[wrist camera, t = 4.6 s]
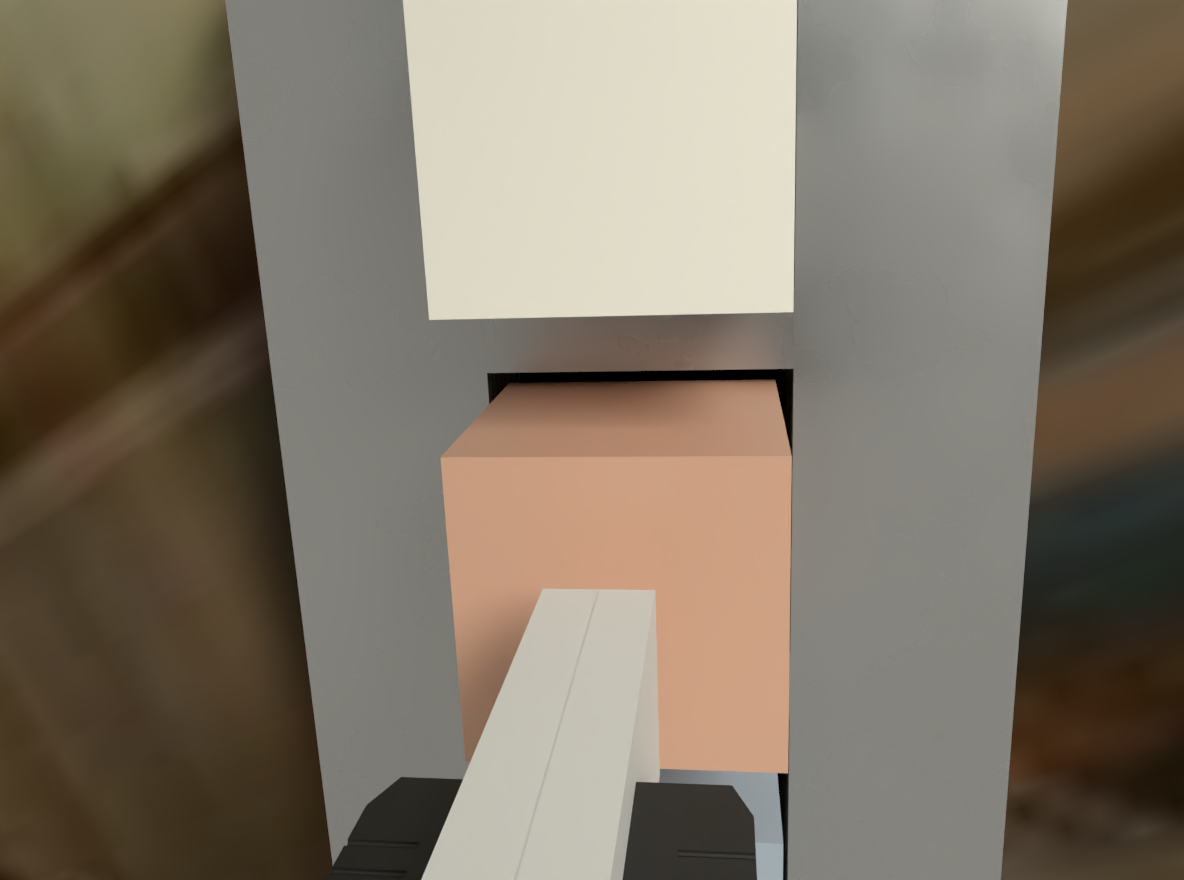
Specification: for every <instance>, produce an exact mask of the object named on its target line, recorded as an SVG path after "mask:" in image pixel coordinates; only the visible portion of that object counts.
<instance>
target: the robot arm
mask: <svg viewBox="0 0 1184 880" xmlns="http://www.w3.org/2000/svg"><path fill="white" fill-rule="evenodd" d="M659 777H660V757H659V717H658V677H657V637H656V597H655V590H627V589H542V592H541V594H540V597H539V599H538V601H537V604H536V606H535V609H534V611H533V613H532V616H531V618H530V621H529V623H528V625H527V628H526V630H525V632H524V635H523V637H522V640H521V642H520V644H519V647H518V649H517V652H516V654H515V656H514V659H513V661H512V664H511V666H510V668H509V671H508V673H507V676H506V678H505V680H504V683H503V685H502V688H501V690H500V692H499V695H498V697H497V699H496V702H495V704H494V707H493V709H492V711H491V714H490V716H489V719H488V721H487V723H486V726H485V728H484V731H483V733H482V735H481V738H480V740H479V743H478V745H477V747H476V750H475V752H474V755H473V757H472V759H471V762H470V764H469V766H468V769H467V771H466V774H465V776H464V778H463V779H443V778H415V777H400V778H399V779H398V780H397V781H395V782H394V783H393V784H392V785H390V786H389V787H388V788H387V789H386V790H384V791H383V792H382V793H381V794H379V795H378V796H377V797H376V798H374V799H373V800H372V801H371V802H370V803H368V804H367V805H366V807H365V808H364V810H363V812H362V814H361V816H360V818H359V819H358V821H357V823H356V825H355V827H354V828H353V830H352V832H351V834H350V836H349V838H348V843H347V846H344V847H343V848H342V850H341V852H340V854H339V856H338V857H337V859H336V861H335V863H334V865H333V867H332V874H331V875H330V874H328V876H327V877H326V879H325V880H757V867H756V846H755V825H754V816H753V814H752V813H751V812H750V810H749V809H748V807H747V806H746V804H745V803H744V802H743V800H742V799H741V797H740V796H739V794H738V793H737V791H736V790H735V789H734V787H733V786H732V785H709V784H681V783H659Z"/></svg>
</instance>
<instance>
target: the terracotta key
mask: <svg viewBox="0 0 1184 880" xmlns="http://www.w3.org/2000/svg"><path fill="white" fill-rule="evenodd" d="M440 458H441V471H442V483H443V495H444V507H445V519H446V532H447V544H448V556H449V568H450V580H451V592H452V605H453V617H454V629H455V641H456V653H457V665H458V678H459V690H460V702H461V714H462V726H463V738H464V751H465V762H471V759H472V757H473V755H474V752H475V750H476V747H477V745H478V743H479V740H480V738H481V735H482V733H483V731H484V728H485V726H486V723H487V721H488V719H489V716H490V714H491V711H492V709H493V707H494V704H495V702H496V699H497V697H498V695H499V692H500V690H501V688H502V685H503V683H504V680H505V678H506V676H507V673H508V671H509V668H510V666H511V664H512V661H513V659H514V656H515V654H516V652H517V649H518V647H519V644H520V642H521V640H522V637H523V635H524V632H525V630H526V628H527V625H528V623H529V621H530V618H531V616H532V613H533V611H534V609H535V606H536V604H537V601H538V599H539V597H540V594H541V592H542V589H627V590H655V597H656V637H657V677H658V717H659V757H660V769H679V770H707V771H736V772H764V773H788V742H789V655H790V569H791V482H792V455H791V450H790V446H789V441H788V436H787V432H786V427H785V422H784V418H783V413H782V409H781V404H780V399H779V395H778V390H777V385H776V381H775V379H772V380H695V381H618V382H541V383H509V384H508V385H507V386H506V387H505V388H504V389H503V390H502V391H501V392H500V393H499V395H498V396H497V397H496V398H495V399H494V400H493V401H492V402H491V403H490V404H489V405H488V406H487V408H486V409H485V410H484V411H483V412H482V413H481V414H480V415H479V416H478V417H477V418H476V419H475V421H474V422H473V423H472V424H471V425H470V426H469V427H468V428H467V429H466V430H465V431H464V432H463V434H462V435H461V436H460V437H459V438H458V439H457V440H456V441H455V442H454V443H453V444H452V445H451V446H450V448H449V449H448V450H447V451H446V452H445V453H444V454H443V455H442V456H441V457H440Z"/></svg>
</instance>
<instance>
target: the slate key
mask: <svg viewBox="0 0 1184 880" xmlns="http://www.w3.org/2000/svg"><path fill="white" fill-rule="evenodd" d="M659 783H681V784H709V785H732V786H733V787H734V789H735V790H736V791H737V793H738V794H739V796H740V797H741V799H742V800H743V802H744V803H745V804H746V806H747V807H748V809H749V810H750V812H751V813H752V814H753V816H754V825H755V846H756V867H757V880H783V834H782V822H781V810H780V798H779V786H778V774H777V773H764V772H736V771H707V770H679V769H660V777H659Z"/></svg>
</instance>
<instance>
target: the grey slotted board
mask: <svg viewBox="0 0 1184 880" xmlns="http://www.w3.org/2000/svg"><path fill="white" fill-rule="evenodd" d="M225 4H226V12H227V20H228V28H229V36H230V44H231V52H232V60H233V68H234V76H235V84H236V92H237V100H238V108H239V116H240V124H241V132H242V140H243V148H244V156H245V164H246V173H247V181H248V189H249V197H250V205H251V213H252V221H253V229H254V237H255V245H256V253H257V261H258V269H259V277H260V285H261V293H262V301H263V309H264V317H265V325H266V333H267V341H268V349H269V357H270V365H271V373H272V381H273V390H274V398H275V406H276V414H277V422H278V430H279V438H280V446H281V454H282V462H283V470H284V478H285V486H286V494H287V502H288V510H289V518H290V526H291V534H292V542H293V550H294V558H295V566H296V574H297V582H298V590H299V599H300V607H301V615H302V623H303V631H304V639H305V647H306V655H307V663H308V671H309V679H310V687H311V695H312V703H313V711H314V719H315V727H316V735H317V743H318V751H319V759H320V767H321V775H322V783H323V791H324V799H325V807H326V816H327V824H328V832H329V840H330V848H331V856H332V864H333V865H334V863H335V861H336V859H337V857H338V856H339V854H340V852H341V850H342V848H343V847H344V846H347V843H348V838H349V836H350V834H351V832H352V830H353V828H354V827H355V825H356V823H357V821H358V819H359V818H360V816H361V814H362V812H363V810H364V808H365V807H366V805H367V804H368V803H370V802H371V801H372V800H373V799H374V798H376V797H377V796H378V795H379V794H381V793H382V792H383V791H384V790H386V789H387V788H388V787H389V786H390V785H392V784H393V783H394V782H395V781H397V780H398V779H399V778H400V777H415V778H443V779H463V778H464V776H465V774H466V771H467V769H468V766H469V764H470V762H465V751H464V738H463V726H462V714H461V702H460V690H459V678H458V665H457V653H456V641H455V629H454V617H453V605H452V592H451V580H450V568H449V556H448V544H447V532H446V519H445V507H444V495H443V483H442V471H441V458H440V457H441V456H442V455H443V454H444V453H445V452H446V451H447V450H448V449H449V448H450V446H451V445H452V444H453V443H454V442H455V441H456V440H457V439H458V438H459V437H460V436H461V435H462V434H463V432H464V431H465V430H466V429H467V428H468V427H469V426H470V425H471V424H472V423H473V422H474V421H475V419H476V418H477V417H478V416H479V415H480V414H481V413H482V412H483V411H484V410H485V409H486V408H487V406H488V405H489V404H490V403H491V402H492V401H493V400H494V399H495V398H496V397H497V396H498V395H499V393H500V392H501V391H502V390H503V389H504V388H505V387H506V386H507V385H508V384H509V383H520V373H531V372H601V371H671V370H741V369H784V422H785V427H786V432H787V436H788V441H789V446H790V450H791V455H792V482H791V569H790V655H789V742H788V773H780V810H781V822H782V834H783V880H1001V869H1002V856H1003V843H1004V830H1005V817H1006V803H1007V790H1008V777H1009V764H1010V751H1011V738H1012V724H1013V711H1014V698H1015V685H1016V672H1017V658H1018V645H1019V632H1020V619H1021V606H1022V592H1023V579H1024V566H1025V553H1026V540H1027V527H1028V513H1029V500H1030V487H1031V474H1032V461H1033V447H1034V434H1035V421H1036V408H1037V395H1038V381H1039V368H1040V355H1041V342H1042V329H1043V315H1044V302H1045V289H1046V276H1047V263H1048V250H1049V236H1050V223H1051V210H1052V197H1053V184H1054V170H1055V157H1056V144H1057V131H1058V118H1059V104H1060V91H1061V78H1062V65H1063V52H1064V39H1065V25H1066V12H1067V0H797V50H796V136H795V223H794V309H793V312H780V313H733V314H686V315H638V316H591V317H544V318H497V319H450V320H429V312H428V300H427V288H426V276H425V264H424V252H423V239H422V227H421V215H420V203H419V191H418V179H417V166H416V154H415V142H414V130H413V118H412V105H411V93H410V81H409V69H408V57H407V45H406V32H405V20H404V8H403V0H225Z"/></svg>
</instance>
